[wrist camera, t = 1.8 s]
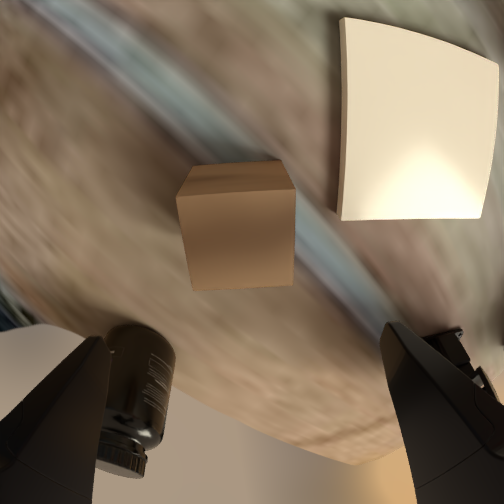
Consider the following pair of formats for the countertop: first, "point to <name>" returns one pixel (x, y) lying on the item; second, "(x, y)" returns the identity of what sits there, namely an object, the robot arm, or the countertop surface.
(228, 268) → the cube
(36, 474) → the robot arm
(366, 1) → the countertop surface
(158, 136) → the countertop surface
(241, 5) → the countertop surface
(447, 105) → the coaster
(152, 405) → the supplement bottle
